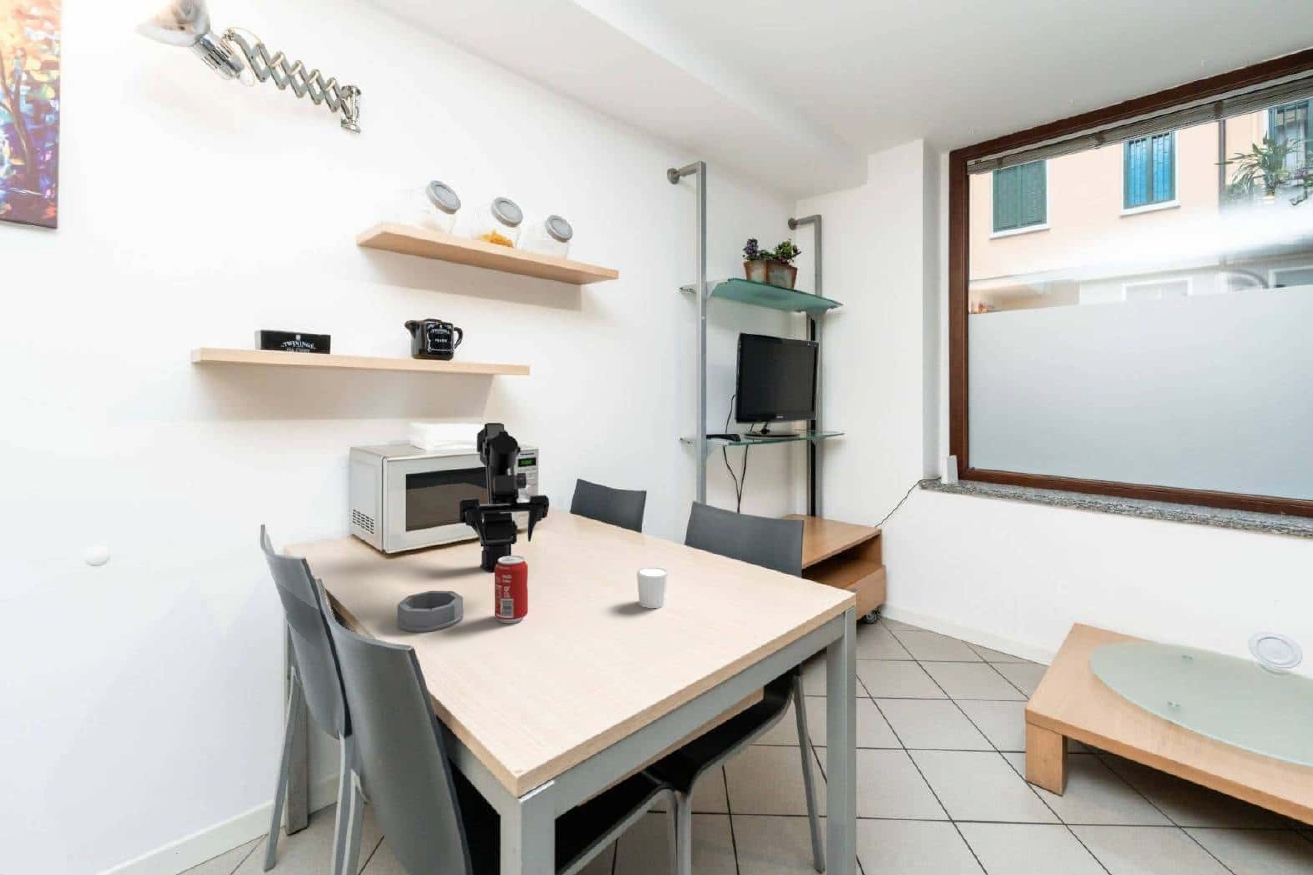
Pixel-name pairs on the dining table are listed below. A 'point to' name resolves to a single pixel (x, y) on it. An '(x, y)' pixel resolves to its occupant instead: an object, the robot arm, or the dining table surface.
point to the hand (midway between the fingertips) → (507, 542)
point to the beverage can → (511, 589)
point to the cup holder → (430, 611)
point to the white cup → (652, 587)
